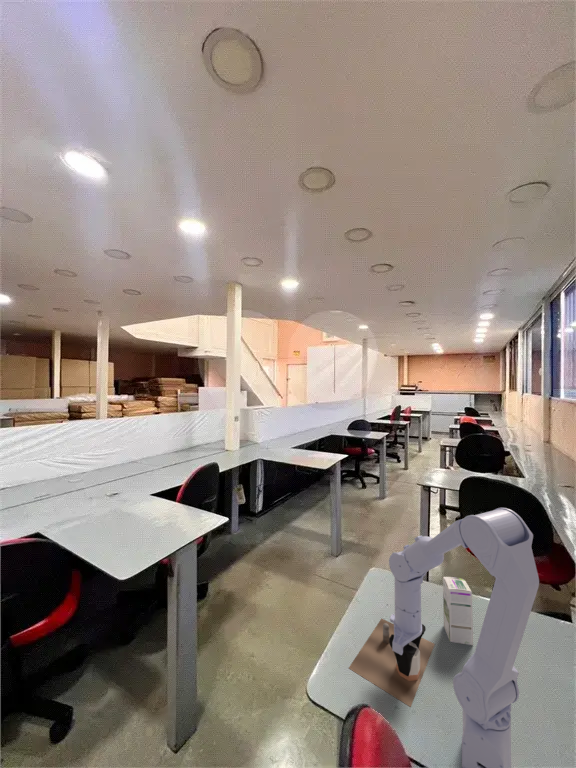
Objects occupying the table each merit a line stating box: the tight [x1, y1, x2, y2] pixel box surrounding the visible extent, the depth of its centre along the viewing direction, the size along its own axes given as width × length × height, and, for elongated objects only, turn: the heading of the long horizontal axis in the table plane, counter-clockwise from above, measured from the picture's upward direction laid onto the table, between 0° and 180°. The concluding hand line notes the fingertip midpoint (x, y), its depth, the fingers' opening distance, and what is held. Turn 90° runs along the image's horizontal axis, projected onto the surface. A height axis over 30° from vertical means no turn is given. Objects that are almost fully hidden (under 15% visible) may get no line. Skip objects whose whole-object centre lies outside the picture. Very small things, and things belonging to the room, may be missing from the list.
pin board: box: [348, 618, 436, 708], centre depth 75 cm, size 20×14×5 cm
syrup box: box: [442, 576, 474, 646], centre depth 81 cm, size 6×6×14 cm
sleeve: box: [396, 642, 420, 681], centre depth 71 cm, size 5×5×5 cm
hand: (407, 664), depth 71 cm, fingers closed on sleeve, 5 cm apart
